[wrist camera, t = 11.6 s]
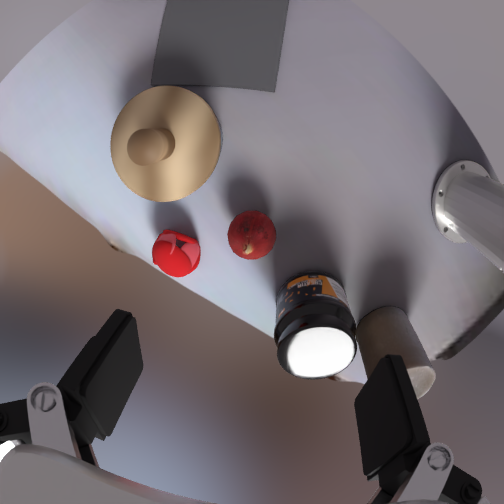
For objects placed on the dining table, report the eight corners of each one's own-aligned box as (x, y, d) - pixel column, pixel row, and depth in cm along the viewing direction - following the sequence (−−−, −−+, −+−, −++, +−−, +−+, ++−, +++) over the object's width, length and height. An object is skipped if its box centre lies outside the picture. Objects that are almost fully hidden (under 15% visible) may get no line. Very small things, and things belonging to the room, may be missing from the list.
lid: (228, 88, 25) (217, 80, 20) (214, 206, 31) (202, 221, 26) (119, 89, 25) (94, 86, 21) (114, 194, 31) (91, 205, 27)
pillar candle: (346, 344, 45) (361, 416, 31) (370, 300, 40) (399, 372, 27) (391, 351, 45) (413, 415, 31) (417, 309, 41) (452, 374, 27)
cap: (149, 220, 35) (134, 263, 35) (184, 231, 33) (168, 278, 33) (180, 235, 43) (167, 272, 42) (212, 245, 41) (199, 284, 40)
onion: (231, 204, 37) (218, 225, 29) (275, 202, 36) (273, 223, 29) (235, 245, 39) (224, 273, 32) (277, 244, 38) (275, 273, 31)
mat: (289, -6, 23) (289, -8, 23) (274, 92, 30) (274, 91, 29) (171, -7, 24) (169, -9, 23) (152, 85, 30) (150, 84, 30)
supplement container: (348, 267, 39) (369, 319, 28) (340, 324, 43) (352, 380, 32) (275, 267, 40) (272, 321, 29) (276, 325, 44) (272, 383, 33)
